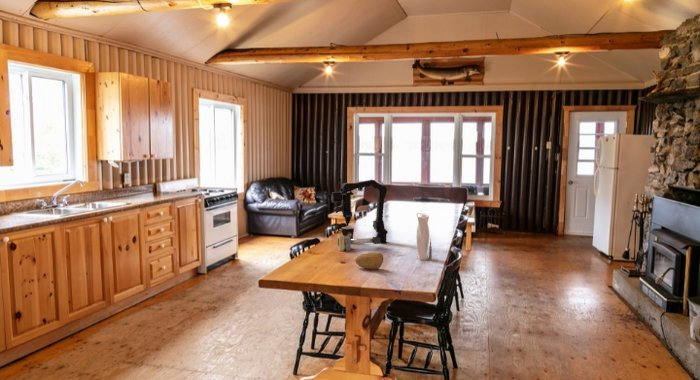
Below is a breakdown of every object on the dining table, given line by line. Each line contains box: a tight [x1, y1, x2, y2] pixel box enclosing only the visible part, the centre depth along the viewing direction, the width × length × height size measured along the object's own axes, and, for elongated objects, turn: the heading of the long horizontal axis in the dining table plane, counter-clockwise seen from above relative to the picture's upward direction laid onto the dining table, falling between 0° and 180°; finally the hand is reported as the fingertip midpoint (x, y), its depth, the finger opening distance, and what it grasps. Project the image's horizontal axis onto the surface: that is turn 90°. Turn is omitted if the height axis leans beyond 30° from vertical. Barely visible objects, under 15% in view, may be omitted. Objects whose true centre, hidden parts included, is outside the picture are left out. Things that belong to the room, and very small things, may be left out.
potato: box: [354, 251, 384, 271], centre depth 254 cm, size 9×16×9 cm, turn 70°
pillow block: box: [344, 236, 352, 252], centre depth 302 cm, size 3×9×8 cm, turn 13°
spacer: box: [336, 233, 345, 252], centre depth 301 cm, size 3×8×10 cm, turn 13°
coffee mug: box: [336, 226, 355, 239], centre depth 325 cm, size 12×9×10 cm
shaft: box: [351, 236, 381, 245], centre depth 304 cm, size 22×4×4 cm, turn 103°
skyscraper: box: [416, 212, 433, 262], centre depth 276 cm, size 8×8×28 cm
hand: (347, 224), depth 316 cm, fingers open, 9 cm apart
